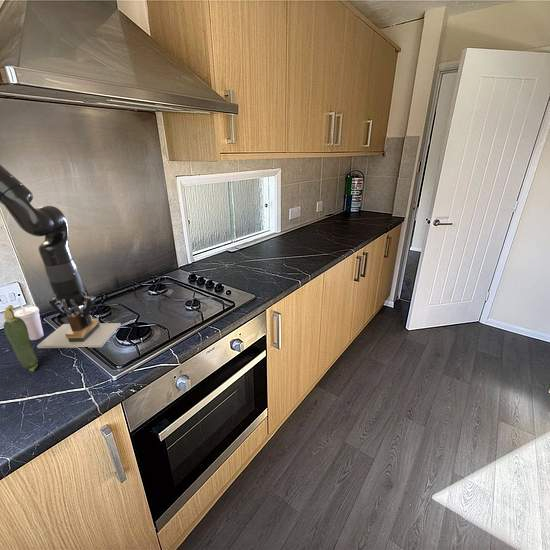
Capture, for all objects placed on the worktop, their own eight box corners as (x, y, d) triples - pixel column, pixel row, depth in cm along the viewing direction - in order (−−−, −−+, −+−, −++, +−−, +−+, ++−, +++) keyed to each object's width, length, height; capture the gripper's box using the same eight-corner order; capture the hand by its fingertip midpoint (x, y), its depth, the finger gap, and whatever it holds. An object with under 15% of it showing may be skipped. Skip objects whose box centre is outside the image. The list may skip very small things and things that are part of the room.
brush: (84, 342, 90) (75, 320, 87) (68, 342, 90) (59, 320, 87) (100, 325, 98) (93, 304, 95) (86, 326, 98) (78, 305, 95)
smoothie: (35, 331, 98) (19, 294, 93) (53, 331, 98) (38, 294, 92) (19, 342, 92) (1, 304, 87) (38, 342, 92) (21, 303, 86)
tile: (37, 348, 90) (36, 345, 89) (64, 326, 101) (63, 323, 100) (101, 347, 89) (100, 344, 88) (121, 325, 100) (120, 323, 99)
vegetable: (19, 373, 79) (-12, 309, 71) (33, 362, 83) (5, 301, 75) (33, 374, 79) (4, 310, 71) (47, 363, 83) (20, 301, 75)
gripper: (94, 270, 89) (109, 319, 96) (50, 271, 90) (68, 320, 97) (79, 280, 82) (96, 332, 89) (31, 282, 83) (52, 333, 90)
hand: (82, 325), depth 93 cm, fingers closed on brush, 2 cm apart
